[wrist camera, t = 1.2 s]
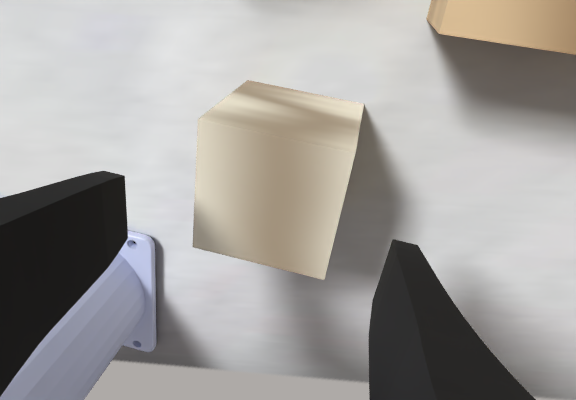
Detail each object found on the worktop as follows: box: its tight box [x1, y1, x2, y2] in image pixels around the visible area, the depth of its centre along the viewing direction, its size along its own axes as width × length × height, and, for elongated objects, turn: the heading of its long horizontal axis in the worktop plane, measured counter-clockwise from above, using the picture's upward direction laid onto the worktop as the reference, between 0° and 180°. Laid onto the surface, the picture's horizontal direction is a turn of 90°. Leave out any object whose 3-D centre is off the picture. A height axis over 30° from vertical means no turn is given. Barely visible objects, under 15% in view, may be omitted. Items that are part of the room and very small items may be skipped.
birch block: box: [193, 80, 364, 280], centre depth 15 cm, size 4×4×5 cm
